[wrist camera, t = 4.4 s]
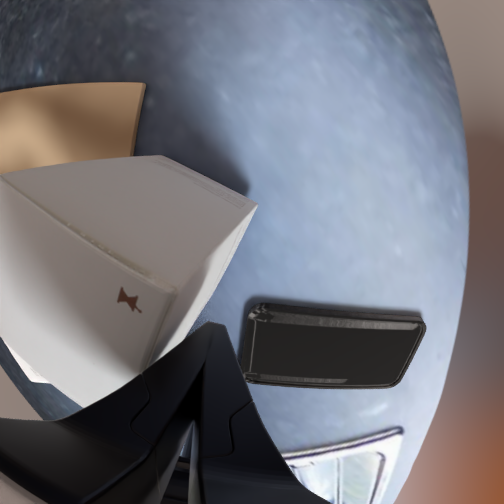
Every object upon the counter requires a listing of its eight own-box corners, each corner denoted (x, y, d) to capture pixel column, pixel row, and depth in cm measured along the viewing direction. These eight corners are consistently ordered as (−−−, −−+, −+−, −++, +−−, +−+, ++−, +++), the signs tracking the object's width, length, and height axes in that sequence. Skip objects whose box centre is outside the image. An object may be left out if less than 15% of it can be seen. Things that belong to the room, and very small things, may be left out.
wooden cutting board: (125, 318, 22) (122, 322, 22) (-5, 270, 22) (-8, 273, 21) (146, 84, 16) (142, 82, 15) (-5, 94, 15) (-9, 94, 15)
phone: (249, 306, 21) (430, 321, 20) (250, 298, 22) (425, 314, 22) (238, 382, 23) (396, 389, 23) (239, 373, 24) (393, 381, 24)
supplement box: (160, 151, 18) (-8, 163, 6) (261, 203, 18) (187, 295, 6) (125, 246, 20) (-9, 331, 8) (212, 297, 20) (125, 441, 8)
